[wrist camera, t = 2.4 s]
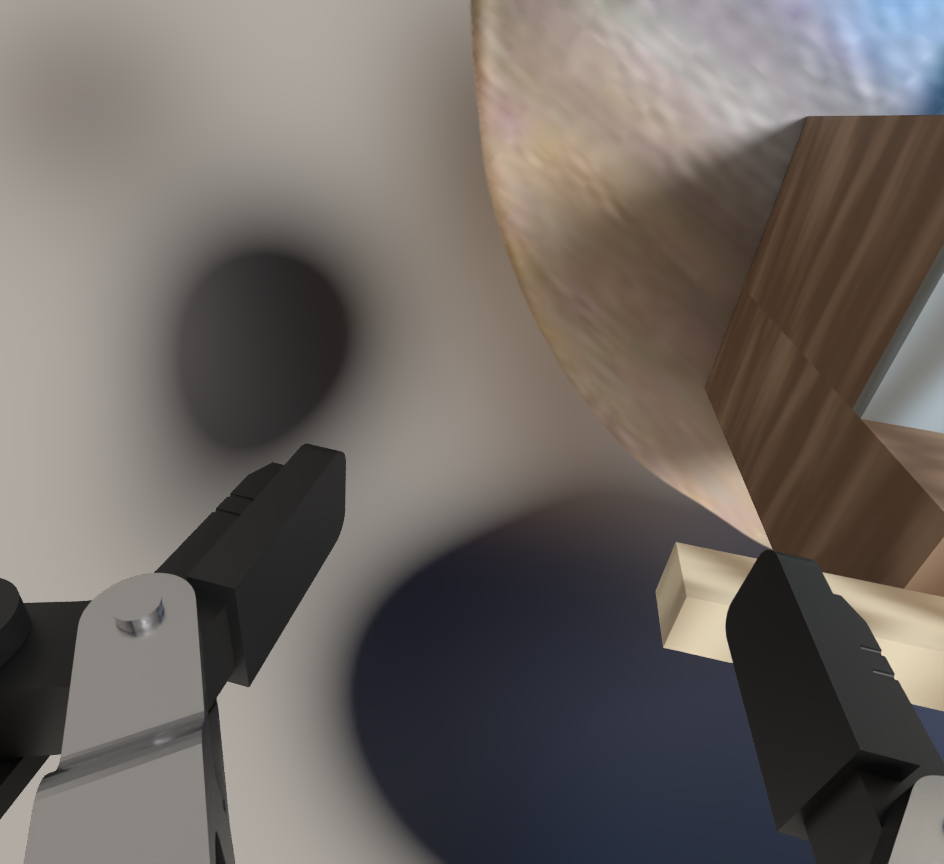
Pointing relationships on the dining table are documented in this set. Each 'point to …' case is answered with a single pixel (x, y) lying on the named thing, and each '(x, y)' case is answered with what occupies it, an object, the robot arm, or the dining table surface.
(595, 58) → the dining table surface
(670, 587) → the maple rod
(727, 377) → the block
